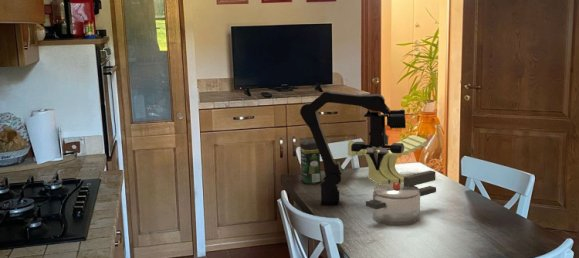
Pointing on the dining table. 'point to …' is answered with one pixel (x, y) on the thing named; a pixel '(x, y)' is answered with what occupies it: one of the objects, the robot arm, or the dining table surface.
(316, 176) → the coffee jar
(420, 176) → the pressure cooker lid
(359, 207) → the dining table surface
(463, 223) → the dining table surface
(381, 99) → the robot arm
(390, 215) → the pressure cooker pot
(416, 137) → the slatted curved stool
